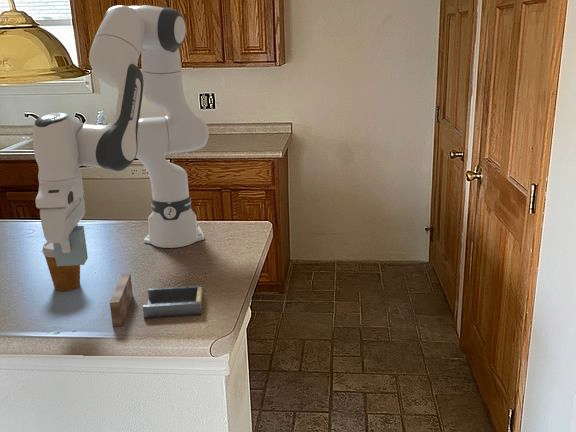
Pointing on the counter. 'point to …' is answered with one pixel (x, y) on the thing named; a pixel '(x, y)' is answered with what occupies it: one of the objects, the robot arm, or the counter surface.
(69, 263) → the block
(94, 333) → the counter surface
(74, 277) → the disposable coffee cup
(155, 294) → the keeper
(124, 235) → the counter surface
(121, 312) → the brown wooden board
